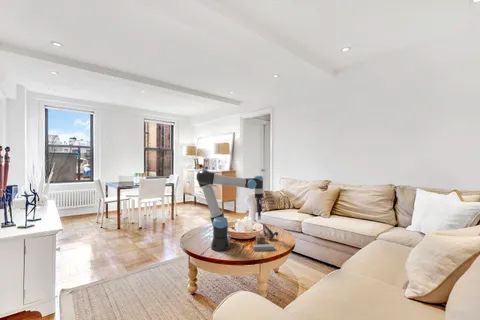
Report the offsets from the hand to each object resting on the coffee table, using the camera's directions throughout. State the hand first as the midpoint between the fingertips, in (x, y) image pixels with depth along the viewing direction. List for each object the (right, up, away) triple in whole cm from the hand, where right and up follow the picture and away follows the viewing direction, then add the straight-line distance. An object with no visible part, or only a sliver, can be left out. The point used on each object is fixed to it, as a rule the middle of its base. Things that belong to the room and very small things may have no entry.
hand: (259, 219), depth 209 cm
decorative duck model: (+12, -18, -1) cm, 21 cm away
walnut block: (0, -18, -9) cm, 20 cm away
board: (+1, -18, -23) cm, 29 cm away
